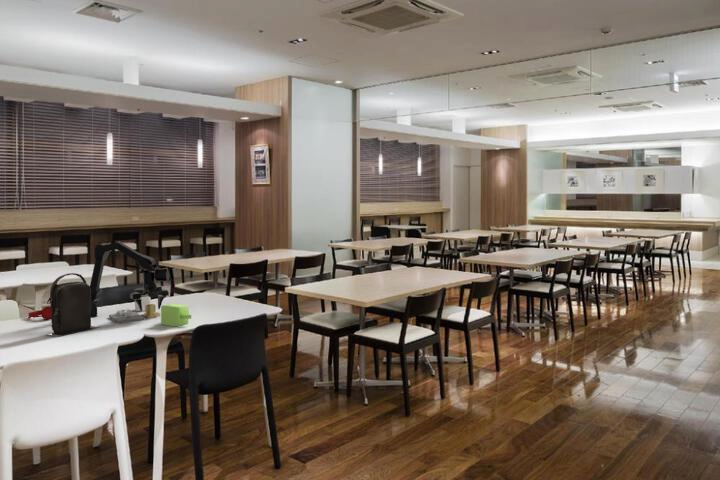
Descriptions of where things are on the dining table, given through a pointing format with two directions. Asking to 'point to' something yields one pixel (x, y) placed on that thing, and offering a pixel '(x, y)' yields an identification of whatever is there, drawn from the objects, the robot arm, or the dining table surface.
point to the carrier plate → (126, 316)
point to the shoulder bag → (71, 307)
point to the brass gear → (150, 311)
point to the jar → (144, 301)
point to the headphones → (42, 313)
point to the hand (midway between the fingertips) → (150, 310)
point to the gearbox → (175, 315)
